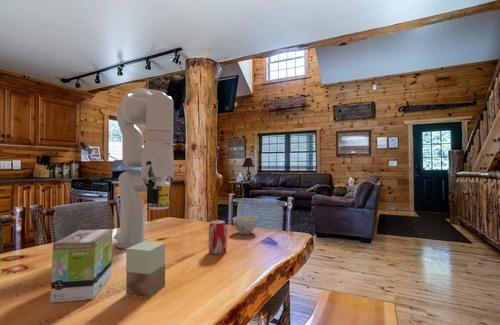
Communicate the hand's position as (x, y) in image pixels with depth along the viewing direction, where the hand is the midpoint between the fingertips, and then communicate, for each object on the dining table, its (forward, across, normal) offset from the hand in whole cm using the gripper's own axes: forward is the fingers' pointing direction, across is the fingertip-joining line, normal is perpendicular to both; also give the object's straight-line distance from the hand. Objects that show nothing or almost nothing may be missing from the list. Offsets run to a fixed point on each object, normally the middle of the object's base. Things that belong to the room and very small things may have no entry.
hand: (159, 201), depth 76 cm
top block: (+18, +4, -1) cm, 18 cm away
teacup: (+24, -62, +10) cm, 67 cm away
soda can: (+24, -31, +6) cm, 40 cm away
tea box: (+24, +7, -18) cm, 31 cm away
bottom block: (+24, +4, -1) cm, 24 cm away
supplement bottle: (+2, 0, 0) cm, 2 cm away
